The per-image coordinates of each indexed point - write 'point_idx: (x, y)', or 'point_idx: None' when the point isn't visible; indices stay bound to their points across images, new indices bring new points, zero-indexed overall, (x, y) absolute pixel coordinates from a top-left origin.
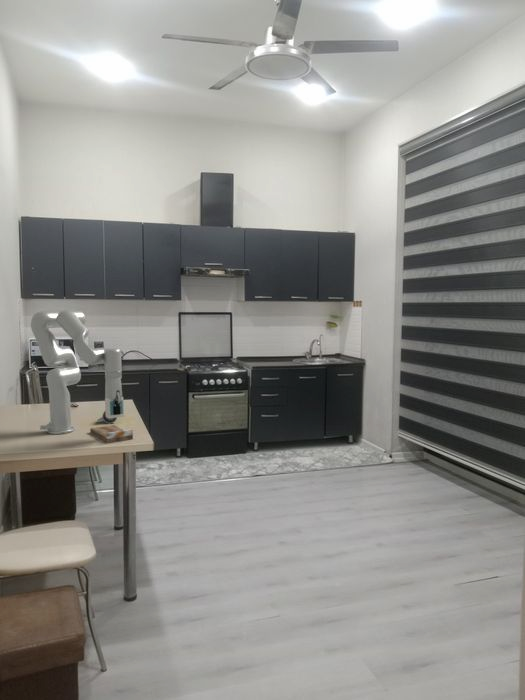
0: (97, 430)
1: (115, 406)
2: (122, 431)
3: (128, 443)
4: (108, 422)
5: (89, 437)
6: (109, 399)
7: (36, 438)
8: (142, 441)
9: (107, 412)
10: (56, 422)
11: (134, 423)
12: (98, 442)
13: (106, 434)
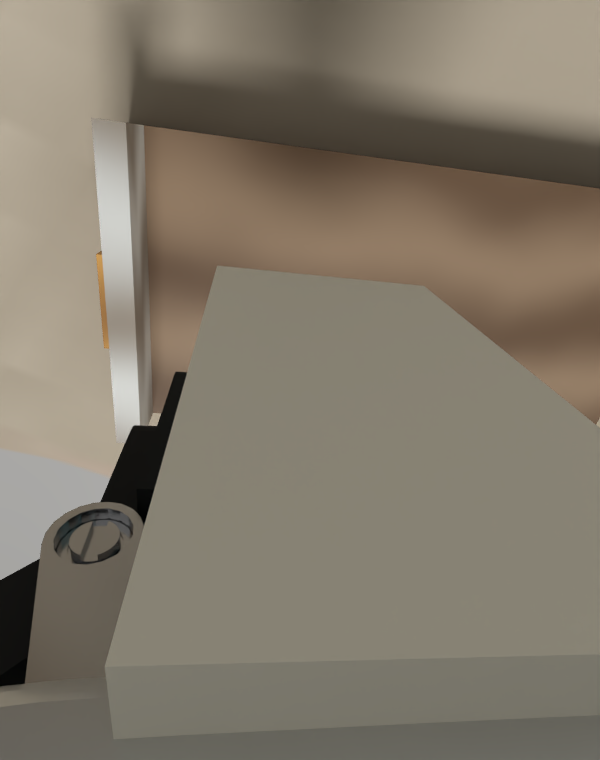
0: (565, 225)
1: (85, 526)
2: (109, 334)
3: (3, 296)
4: None
5: (513, 82)
6: (111, 677)
7: None
8: (15, 417)
9: (331, 308)
10: None
11: None
12: (231, 51)
13: (326, 218)
